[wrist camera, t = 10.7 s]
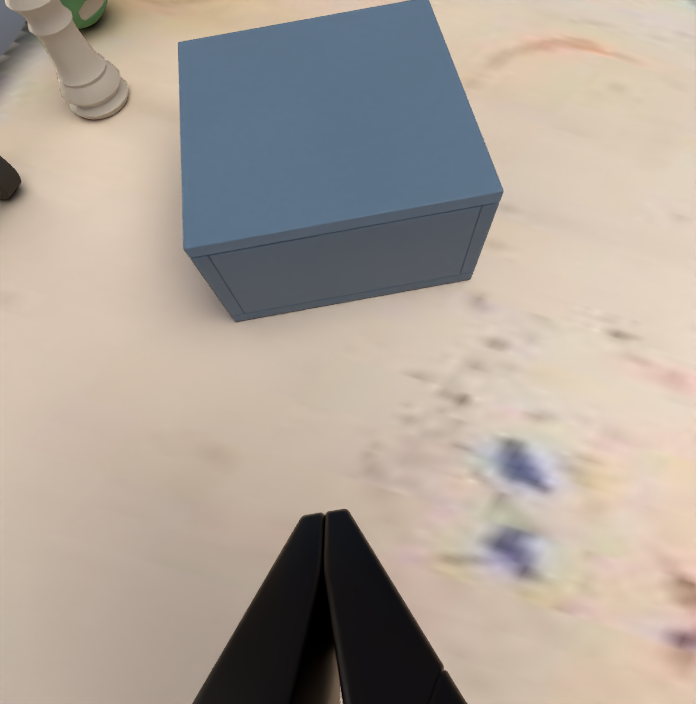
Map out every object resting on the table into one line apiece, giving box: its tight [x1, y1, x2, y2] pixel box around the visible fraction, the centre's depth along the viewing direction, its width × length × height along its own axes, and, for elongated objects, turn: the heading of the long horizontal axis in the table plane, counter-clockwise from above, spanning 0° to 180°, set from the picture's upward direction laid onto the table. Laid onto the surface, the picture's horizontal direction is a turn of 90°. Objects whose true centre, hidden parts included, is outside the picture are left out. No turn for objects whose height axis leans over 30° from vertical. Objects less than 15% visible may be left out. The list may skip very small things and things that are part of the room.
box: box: [191, 202, 499, 322], centre depth 24 cm, size 13×14×6 cm
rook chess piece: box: [5, 0, 129, 120], centre depth 28 cm, size 4×4×8 cm
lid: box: [178, 0, 503, 258], centre depth 21 cm, size 14×14×1 cm
